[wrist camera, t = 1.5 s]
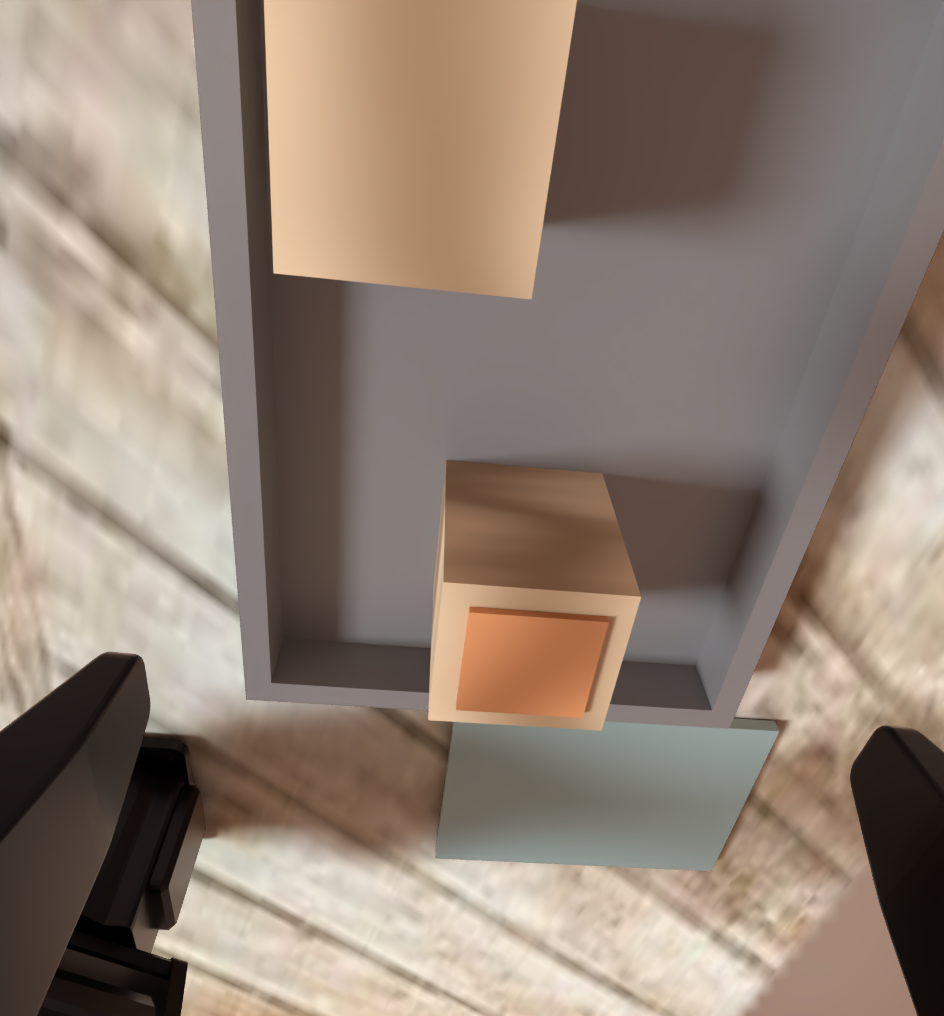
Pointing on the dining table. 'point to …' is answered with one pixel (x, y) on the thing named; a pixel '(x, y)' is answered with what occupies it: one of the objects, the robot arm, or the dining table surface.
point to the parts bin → (587, 341)
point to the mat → (598, 792)
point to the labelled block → (528, 598)
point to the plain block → (414, 138)
